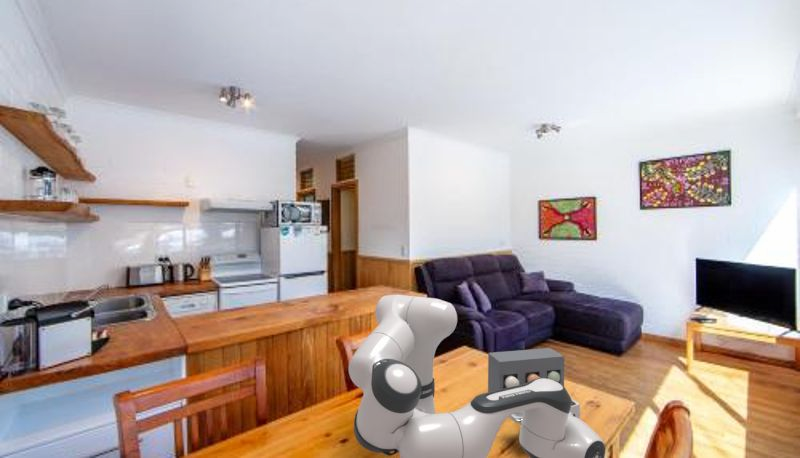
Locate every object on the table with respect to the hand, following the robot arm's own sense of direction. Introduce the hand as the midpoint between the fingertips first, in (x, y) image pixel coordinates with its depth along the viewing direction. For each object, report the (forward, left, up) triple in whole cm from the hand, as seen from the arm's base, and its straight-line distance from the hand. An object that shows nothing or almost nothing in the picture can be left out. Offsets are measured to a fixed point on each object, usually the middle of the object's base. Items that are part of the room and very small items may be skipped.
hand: (523, 393), depth 107 cm
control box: (+8, +11, -9) cm, 17 cm away
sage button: (+16, +8, -2) cm, 18 cm away
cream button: (0, +7, -2) cm, 7 cm away
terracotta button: (+8, +7, -2) cm, 11 cm away
